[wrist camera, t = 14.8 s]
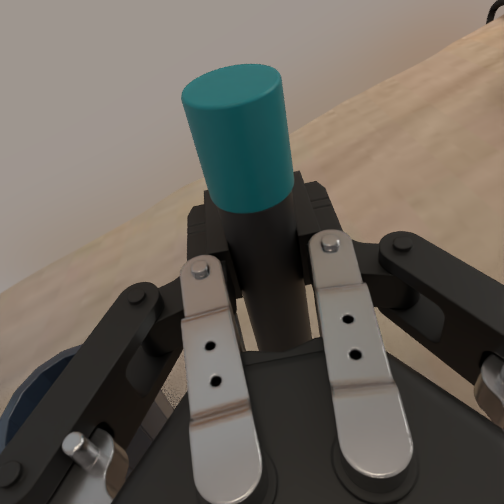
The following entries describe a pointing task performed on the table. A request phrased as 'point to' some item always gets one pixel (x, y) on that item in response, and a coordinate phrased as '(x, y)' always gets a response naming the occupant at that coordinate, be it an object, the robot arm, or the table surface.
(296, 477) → the robot arm
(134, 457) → the pen cup
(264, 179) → the marker
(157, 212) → the table surface
